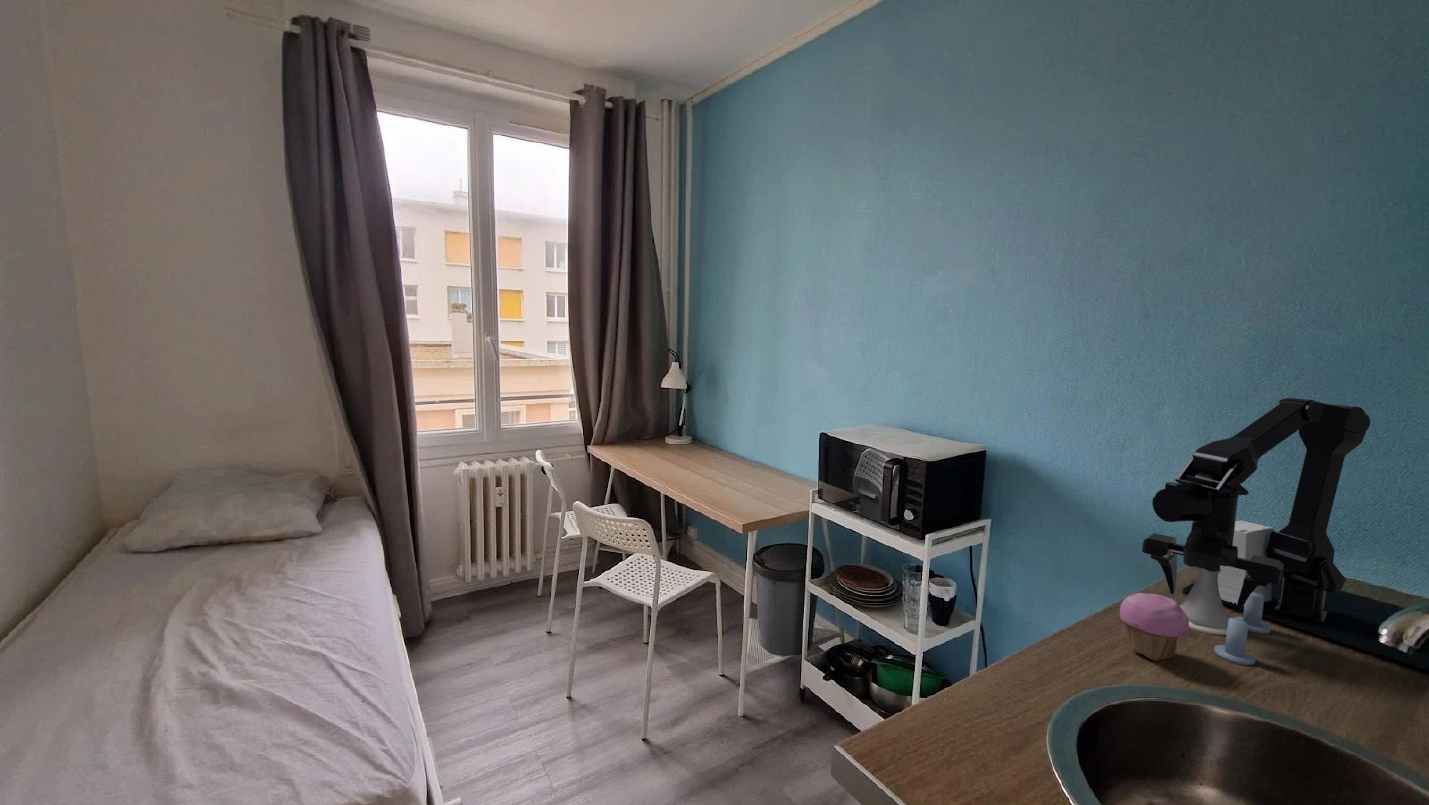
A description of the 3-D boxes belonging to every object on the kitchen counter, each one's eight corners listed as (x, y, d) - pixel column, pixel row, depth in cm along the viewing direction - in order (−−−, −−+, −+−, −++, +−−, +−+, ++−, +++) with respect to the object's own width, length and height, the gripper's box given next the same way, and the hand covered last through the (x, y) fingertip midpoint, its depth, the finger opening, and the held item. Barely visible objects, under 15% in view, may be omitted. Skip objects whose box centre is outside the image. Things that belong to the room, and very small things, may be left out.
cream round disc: (1177, 606, 112) (1177, 603, 112) (1239, 624, 105) (1239, 621, 105) (1164, 620, 106) (1164, 617, 106) (1229, 640, 100) (1229, 637, 100)
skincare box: (1237, 591, 119) (1239, 519, 118) (1273, 602, 113) (1276, 526, 113) (1209, 597, 116) (1211, 523, 116) (1245, 608, 111) (1247, 530, 110)
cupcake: (1195, 661, 93) (1202, 601, 92) (1166, 675, 89) (1172, 613, 88) (1134, 635, 101) (1139, 580, 100) (1105, 647, 97) (1110, 590, 96)
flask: (1239, 631, 101) (1245, 576, 100) (1190, 626, 103) (1196, 572, 102) (1214, 612, 108) (1220, 560, 107) (1169, 608, 110) (1174, 557, 109)
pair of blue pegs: (1235, 617, 108) (1239, 586, 107) (1272, 627, 104) (1276, 595, 104) (1210, 655, 95) (1215, 620, 94) (1252, 669, 91) (1256, 632, 90)
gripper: (1137, 514, 106) (1129, 597, 107) (1279, 543, 91) (1267, 637, 93) (1154, 503, 113) (1147, 581, 114) (1289, 528, 98) (1278, 616, 100)
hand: (1204, 602), depth 105 cm, fingers open, 9 cm apart
